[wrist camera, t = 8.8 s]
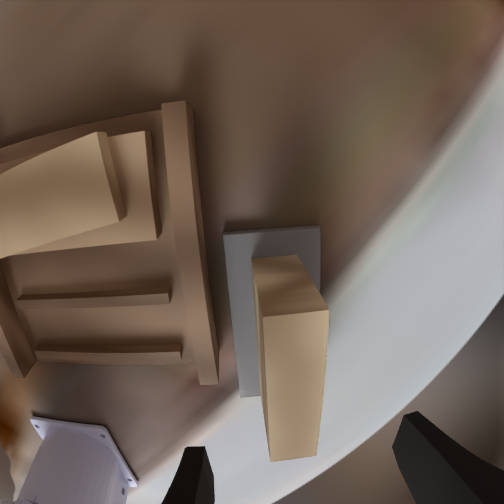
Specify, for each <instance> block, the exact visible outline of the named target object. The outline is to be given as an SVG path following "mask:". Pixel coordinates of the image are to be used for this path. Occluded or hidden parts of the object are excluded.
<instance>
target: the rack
mask: <svg viewBox="0 0 504 504" xmlns="http://www.w3.org/2000/svg"><path fill="white" fill-rule="evenodd" d="M161 105H162V110H156V111H150V112H144V113H138V114H132V115H126V116H121V117H116V118H111V119H106V120H101V121H96V122H92V123H87V124H83V125H79V126H75V127H71V128H67V129H63V130H59V131H55V132H52V133H48V134H44V135H41V136H38V137H34V138H31V139H28V140H24V141H21V142H18V143H15V144H12V145H9V146H6V147H3V148H0V164H3V163H6V162H9V161H13V160H16V159H19V158H23V157H26V156H30V155H33V154H37V153H41V152H44V151H48V150H52V149H54V148H57V147H59V146H61V145H64V144H66V143H69V142H71V141H74V140H76V139H79V138H81V137H84V136H86V135H89V134H92V133H94V132H106V133H107V137H111V136H117V135H122V134H128V133H134V132H140V131H149V132H151V141H152V152H153V163H154V173H155V182H156V191H157V199H158V208H159V215H160V223H161V230H162V234H161V235H160V236H159V238H158V239H157V240H152V241H141V242H131V243H121V244H111V245H101V246H92V247H82V248H73V249H63V250H54V251H45V252H36V253H28V254H19V255H11V256H7V257H4V258H1V259H0V349H1V351H2V353H3V355H4V357H5V359H6V362H7V364H8V366H9V368H10V370H11V372H12V374H13V376H14V377H18V378H25V377H26V375H27V374H28V372H29V371H30V369H31V368H32V367H33V365H34V364H35V362H36V361H40V362H53V363H70V364H95V365H168V364H194V363H196V367H197V372H198V377H199V382H200V385H212V384H219V347H218V340H217V333H216V326H215V319H214V311H213V304H212V296H211V288H210V280H209V272H208V264H207V255H206V246H205V237H204V228H203V218H202V208H201V198H200V188H199V177H198V166H197V154H196V141H195V128H194V114H193V108H192V107H191V106H190V105H189V103H188V102H187V101H186V100H184V101H176V102H168V103H161Z"/></svg>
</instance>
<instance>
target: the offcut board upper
mask: <svg viewBox="0 0 504 504" xmlns="http://www.w3.org/2000/svg"><path fill="white" fill-rule="evenodd" d="M126 216H127V213H126V210H125V206H124V202H123V199H122V195H121V191H120V187H119V184H118V180H117V176H116V172H115V168H114V163H113V159H112V155H111V151H110V146H109V142H108V137H107V133H106V132H94V133H92V134H89V135H86V136H84V137H81V138H79V139H76V140H74V141H71V142H69V143H66V144H64V145H61V146H59V147H57V148H54V149H52V150H50V151H47V152H45V153H43V154H41V155H39V156H36V157H34V158H32V159H30V160H28V161H26V162H24V163H21V164H19V165H17V166H15V167H13V168H11V169H9V170H7V171H5V172H3V173H2V174H0V259H1V258H4V257H7V256H10V255H13V254H16V253H19V252H22V251H25V250H28V249H31V248H34V247H37V246H40V245H43V244H46V243H49V242H53V241H56V240H59V239H62V238H66V237H69V236H72V235H76V234H79V233H82V232H86V231H89V230H93V229H96V228H100V227H103V226H107V225H110V224H114V223H117V222H120V221H121V220H122V219H124V218H125V217H126Z"/></svg>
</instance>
